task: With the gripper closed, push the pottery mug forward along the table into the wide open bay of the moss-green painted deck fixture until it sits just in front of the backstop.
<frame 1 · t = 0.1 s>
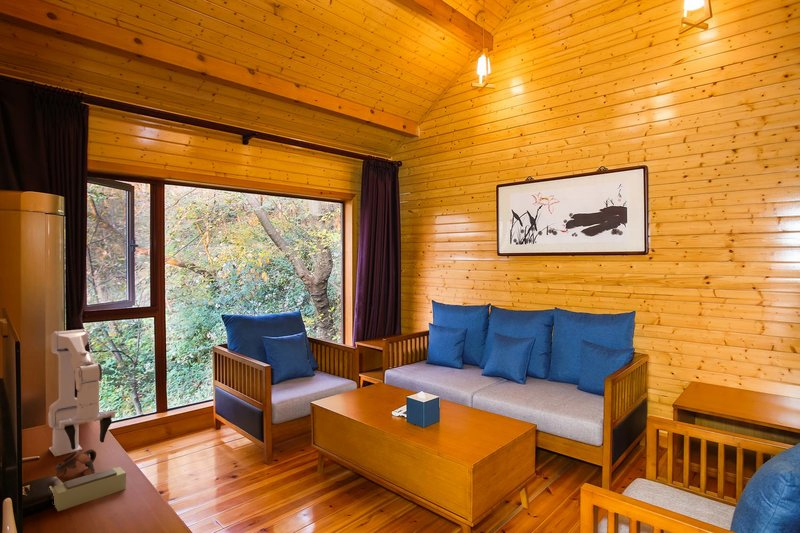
hand: (87, 444, 143), 10 cm above the table, fingers open, 7 cm apart
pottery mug: (79, 474, 144), on the table
deck bay: (85, 489, 134), on the table
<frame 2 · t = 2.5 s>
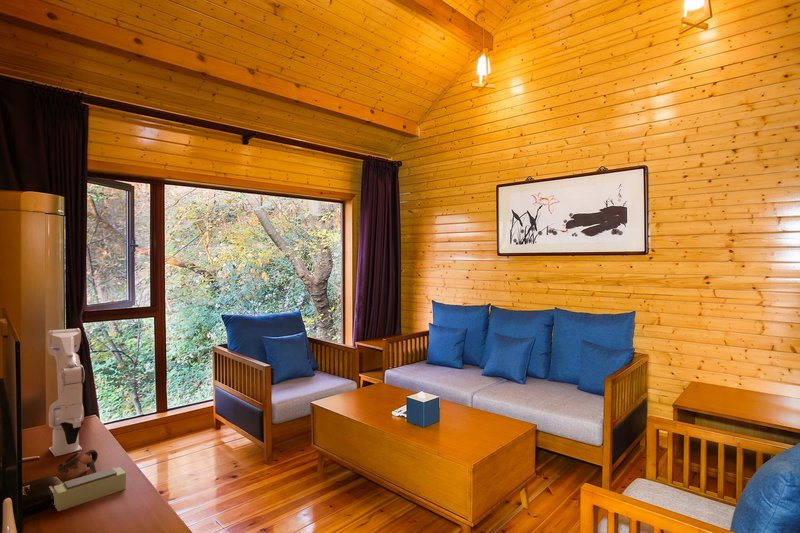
hand: (71, 443, 150), 7 cm above the table, fingers closed
nothing on the table moved.
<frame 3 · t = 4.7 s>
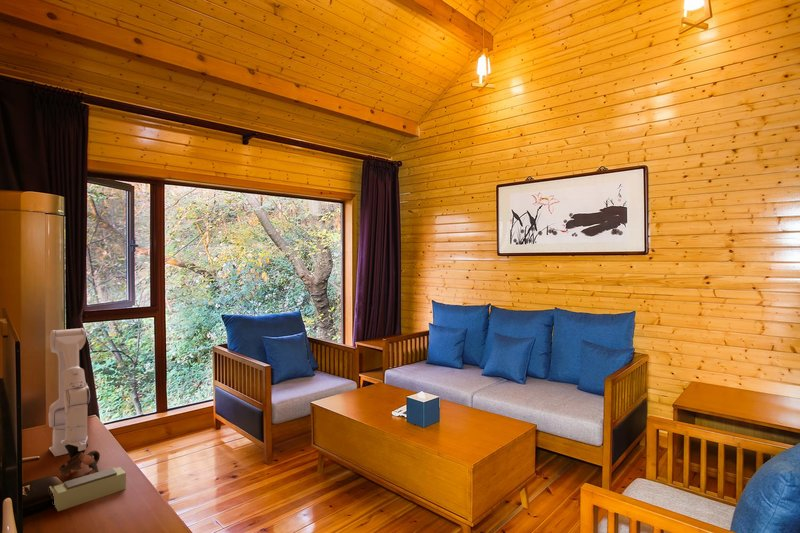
hand: (76, 465, 146), 1 cm above the table, fingers closed
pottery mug: (82, 475, 143), on the table, touching gripper
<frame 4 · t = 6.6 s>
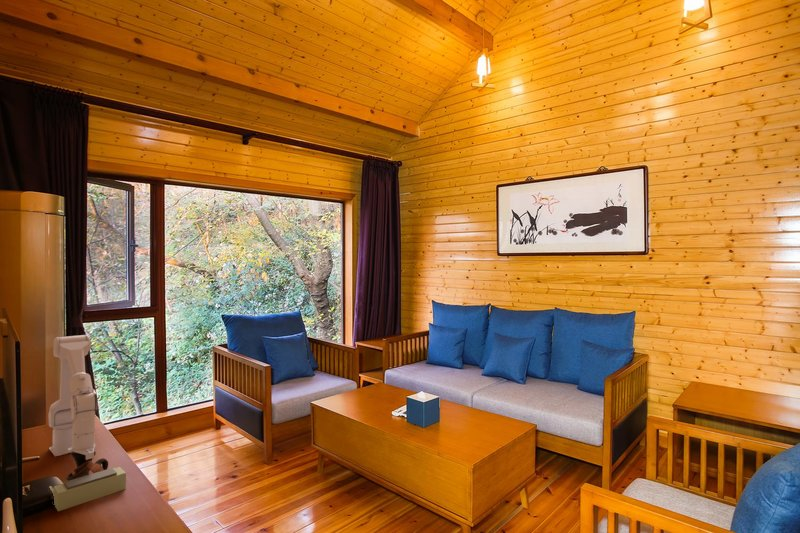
hand: (83, 474, 141), 1 cm above the table, fingers closed
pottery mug: (91, 485, 137), on the table, touching deck bay, gripper
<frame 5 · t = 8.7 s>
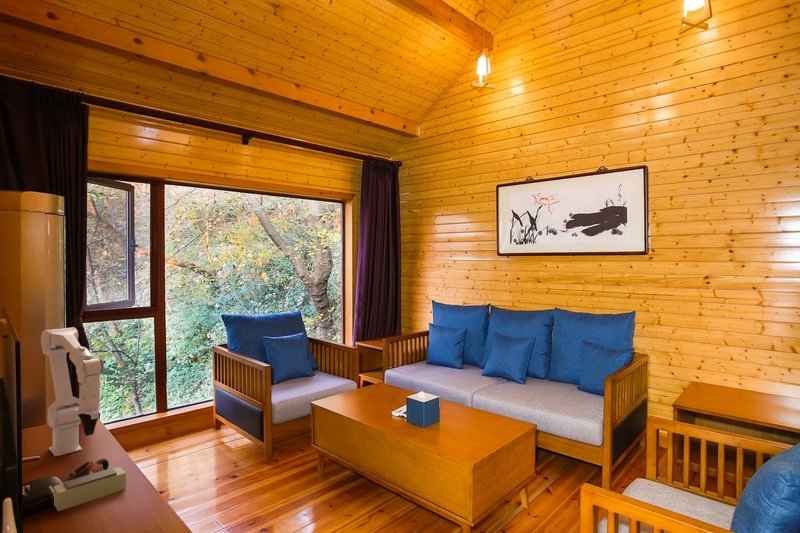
hand: (89, 434, 151), 10 cm above the table, fingers closed
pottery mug: (91, 485, 138), on the table
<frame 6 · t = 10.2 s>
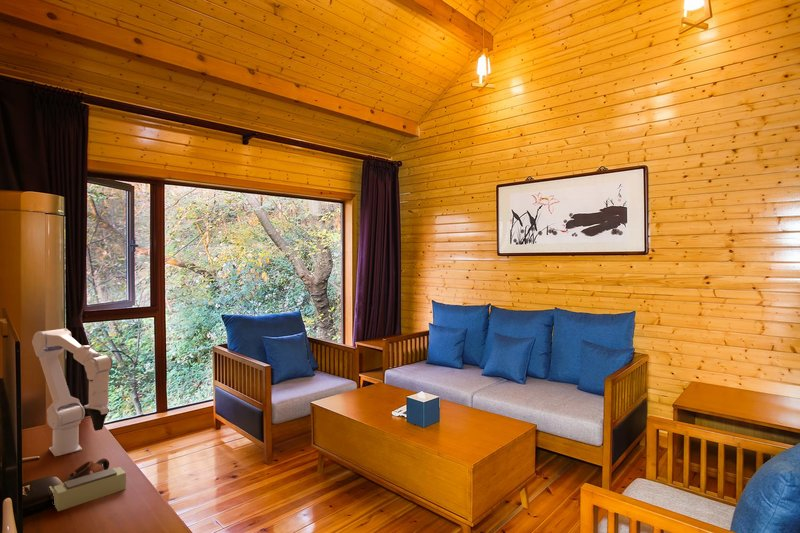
hand: (98, 429, 155), 10 cm above the table, fingers closed
nothing on the table moved.
at the end: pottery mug inside the target area (2.3 cm from its centre), on the table; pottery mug tilted 1° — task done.
